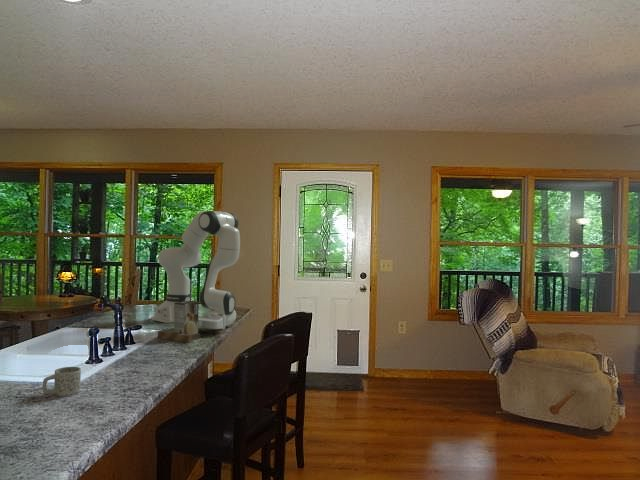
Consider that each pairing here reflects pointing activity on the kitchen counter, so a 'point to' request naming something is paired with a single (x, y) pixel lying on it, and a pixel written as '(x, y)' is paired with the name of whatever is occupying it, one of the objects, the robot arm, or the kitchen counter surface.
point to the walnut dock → (177, 336)
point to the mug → (64, 382)
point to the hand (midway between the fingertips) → (191, 324)
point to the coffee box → (186, 317)
